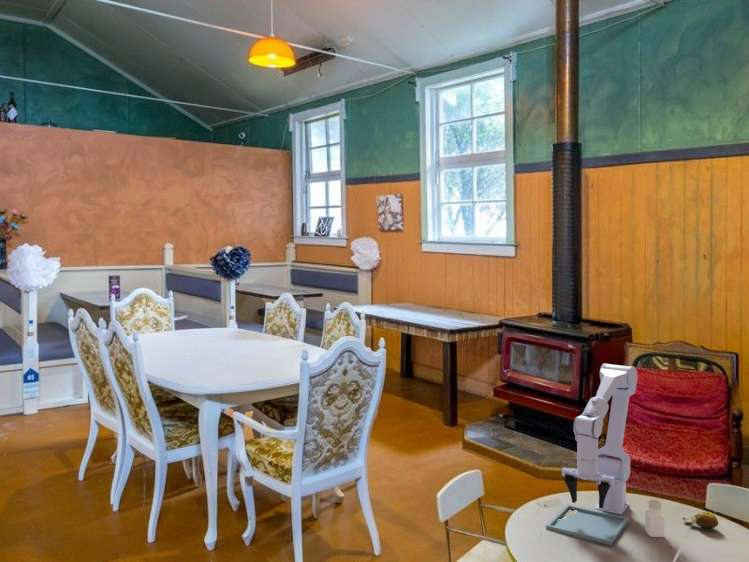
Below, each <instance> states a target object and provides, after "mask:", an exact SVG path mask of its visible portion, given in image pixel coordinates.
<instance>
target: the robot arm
mask: <svg viewBox="0 0 749 562" xmlns="http://www.w3.org/2000/svg"><path fill="white" fill-rule="evenodd" d="M599 379H600V384H599V387H598V389H597V391H596V395H595V396H594V397H593V396H592V397H590V399H589V400H588V402H587V404H586V406H585V408H584V410H583V412H582V413H581V414H580V415H579V416H576V417H575V418H574V421H573V433H574V436H575V437H574V439H575V441H576V446H577V447H576V448H577V449H576V451H577V452H576V454H577V456H576V457H577V459H576V461H577V462H576V464H577V465H576V467H577V468H573V467H571V468H570V467H562V469H561V476H562V477H565V478H563V481H564V484H565V485H566V487H567V489H568V491H569V494H570V498H571V499H570V500H571V503H573V504H575V503H576V502H577V501H578V490H577V489H578V480H579V479H581V480H585V481H590V482H591V481H592V482H597V483H598V485H597V488H598V489H597V490H598V503H597V504H596V505H594V506H595V507H594V509H595V510H597V511H599V510H600V511H601V512H603V511H604V512H606V513H610V514H612V513H613V514H615V515H622V514H624V512H625V511H626V510H627V508H628V507H629V506H630V503H629V502H627V485H626V484H627V483H626V481H628V480H629V478H630V475H631V457H630V456H629V454H628V453H627V452H625V450H624V449H623V444H624V437H625V432H626V431H625V429H626V424H627V419H628V418H627V417H628V410H629V402H630V397H631V396H633V395H635V394H636V390H637V384H638V383H637V382H638V371H637V369H636V367H635V366H633V365H631V366H630V365H629V366H628V365H619V364H611V363H605V362H604V363H603V364H602V365H601V366H600V369H599ZM611 398H612V399H611ZM610 399H611V405H610V406H609V403H608V402H609V400H610ZM609 407H610V412H609V420H608V425H607V430H606V431H607V433H606V439H605V445H604V446H602V447H601V448H599V437H600V436H601V435H602V431H603V426H604V421H603V420H604V419H605V417H606V415H607V413H608V411H609Z"/></svg>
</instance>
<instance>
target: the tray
mask: <svg viewBox="0 0 749 562" xmlns="http://www.w3.org/2000/svg"><path fill="white" fill-rule="evenodd" d="M572 509H573V510H577V511H578V512H577V513H576V514H575V515H569V516H568V517H567V519H566V518H565V519H561V520H558V519H559V518H561V517H563V516H564V515H565V514H566V512H567V511H568V510H572ZM557 520H558V521H559V522H558V521H557ZM628 524H629V517H626V516H623V515H622V516H621V515H618V514H614V513H613V514H612V513H609V512H605V511H604V512H603V511H599V510H596V509H595V510H594V509H590V508H586V507H585V508H584V507H582V506H581V507H580V506H577V505H576V506H575V505H571V504H566V505H565V506H564V507H563V508H562V509H561V510H560V511H559V512H558V513H557V514H556V515H555V516H554V517H552V519H551V520H550V521H549V522H548V523H546V524H545V529H546V530H549V529H550V530H549V531H554V532H557V533H560V534H563V535H567V536H571V537H574V538H577V539H581V540H585V541H588V542H591V543H593V544H594V543H595V544H597V545H598V544H599V545H603V546H606V547H612V546H613V545H614V543H615V542H617V540H618V538H619V537H620V535H622V533H623V532H624V530H625V528H626V527H627V526H628Z"/></svg>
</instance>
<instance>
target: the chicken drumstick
mask: <svg viewBox="0 0 749 562" xmlns="http://www.w3.org/2000/svg"><path fill="white" fill-rule="evenodd" d="M682 520H683V522H686V523H692V522H695V523H697V524H698V525H699V527H701V528H703V529H706V530H712V529H714V528H716V527H717V526H718V525H719V520H718V518H717V516H716V515H715V514H714V513H712V512H711V511H700V512H698V513H696V514H695V515H693V516H690V517H688V518H686V517H682Z"/></svg>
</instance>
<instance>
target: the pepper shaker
mask: <svg viewBox="0 0 749 562" xmlns="http://www.w3.org/2000/svg"><path fill="white" fill-rule="evenodd" d="M661 511H662V501H660V500H658V499H655V498H652V499H648V510H645V514H644V515H645V524H644V525H645V528H644V529H645V533H646V534H647V535H648V536H649V537H651V538H664V537H665V515H664V514H663V513H662V512H661Z"/></svg>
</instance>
